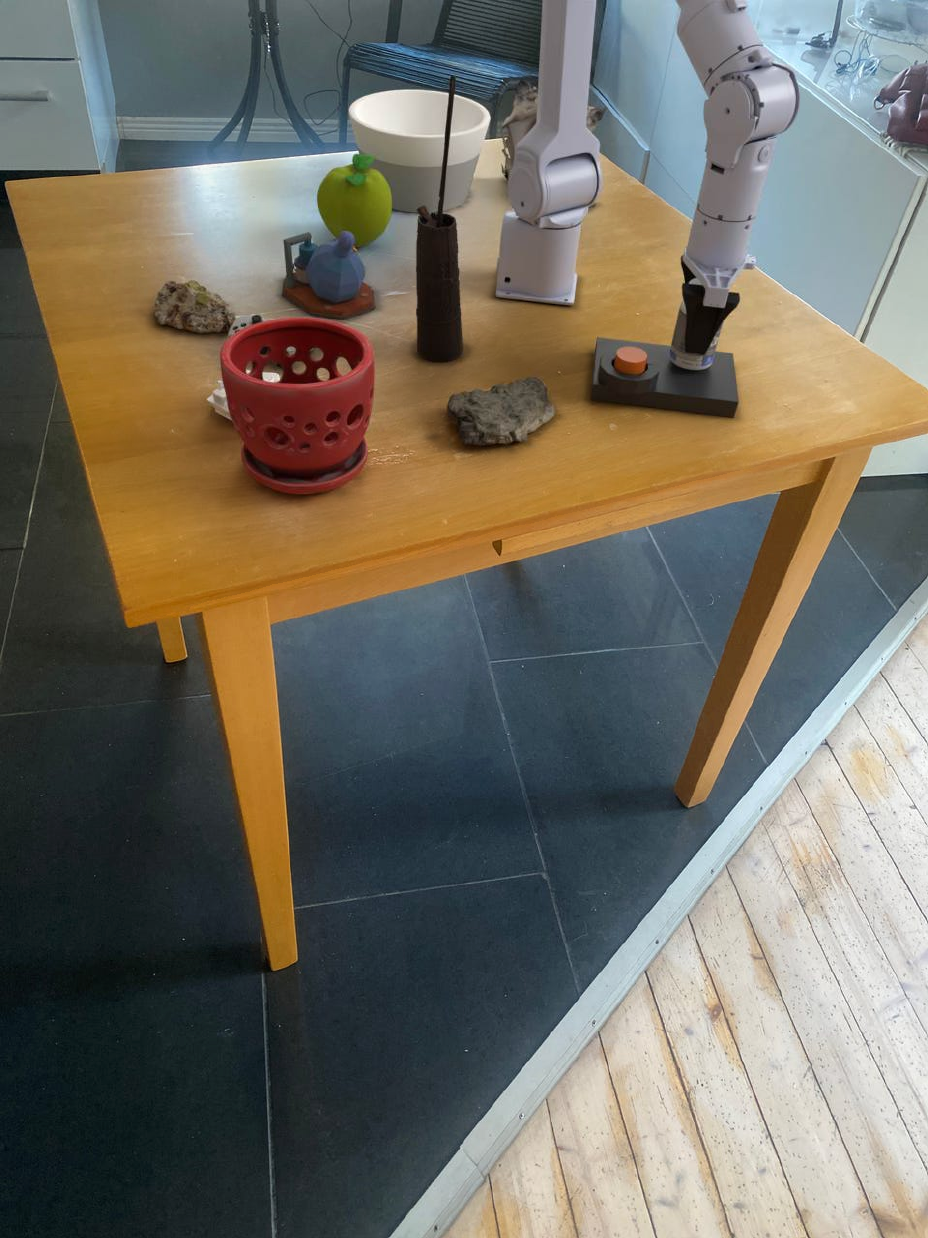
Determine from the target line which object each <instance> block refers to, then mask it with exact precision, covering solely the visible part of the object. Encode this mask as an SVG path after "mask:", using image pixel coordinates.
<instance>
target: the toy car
mask: <svg viewBox="0 0 928 1238" xmlns="http://www.w3.org/2000/svg"><path fill="white" fill-rule="evenodd" d="M250 372H251V369H250V370H249V369H246V373H247V374H249V373H250ZM220 379H221V380H220ZM220 379H219V380H216V383H218V388H215V389H214V390H213V391H212V392H211V394H210V396H209V397H207V398H206V401H207V402H208V403H209V404H211V406H212V407H213V408H214V412H215V413H217V414H219V415H221V416H223V417H224V418H226V419H227V420H230V421H232V419H231V416H230V413H229V410H228V404H227V398H226V393H225V389H224V385H223V380H222V375H220ZM280 379H281V377H280V375H279V374H278V373H276V372H264V371H263V380H264V381H268V382H273V383H276V382H278V381H279V380H280Z"/></svg>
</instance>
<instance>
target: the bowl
mask: <svg viewBox="0 0 928 1238" xmlns="http://www.w3.org/2000/svg"><path fill="white" fill-rule="evenodd" d="M448 99H449V92H444V91H438V90H437V91H436V90H430V89H429V90H428V89H394V90H385V91H379V92H374V93H371V94H367V95H364V96H362V97H359V98H357V99H355V100H354V101H353V102H352V103H351V104H350V106H349V107H348V118H349V121H350V125H351V129H352V133H353V137H354V141H355V145H356V147H357V151H358V154H364V155H373V156H375V158H374V160H373V161H372V163H371V164H370V165H369V166H368V167H367V168H370V169H375V170H377V171H378V172H380V173H381V174H382V176H383V177H384V178H385V180H386V181H387V183H388V185H389V188H390V191H391V196H392V210H396V211H400V212H405V213H416V214H419V213H418V212H417V208H419V207H421V206H426V207H427V210H428V212H429V213H430V214H431V213H437V211H438V202H439V199H440V197H439V190H440V181H441V173H442V163H443V155H444V142H445V127H446V118H447V117H446V116H447V108H448ZM490 122H491V114H490V111H489V110H488V109H487V108H486V107H485V106H484V105H482V104H480V103H479V102H477V101H475V100H473V99H470V98H468V97H464V96H460V95H457V94H454V102H453V112H452V121H451V132H450V141H449V150H448V160H447V169H446V181H445V194H444V204H443V212H446V211H449V210H453V209H456V208H457V207H460V206H461V205H463V204H464V203H465V202H466V201H467V199H468V195H469V192H470V188H471V186H472V182H473V179H474V176H475V173H476V168H477V165H478V163H479V160H480V155H481V152H482V150H483V146H484V143H485V140H486V136H487V133H488V129H489V126H490Z"/></svg>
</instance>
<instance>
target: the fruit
mask: <svg viewBox="0 0 928 1238" xmlns="http://www.w3.org/2000/svg"><path fill="white" fill-rule="evenodd" d="M374 158H375V156H373V155H364V154H359V153H354V154H352V159H351V163H350V164H347V165H344V166H336V167H333V168H331V170H329V171H328V172H327V174H326V175H325V177H324V178H323V179H322V180H321V182H320V184H319V186H318V189H317V193H316V205H317V209H318V213H319V215H320V218H321V220H322V221H323V222H322V223H324V225H325V227H326V229H327V230H328V231H329V233H330V235H332V236H333V237H334V238H335V240H336V241H338V237H339V235H340V234H341V233H342V232H344V231H348V232H350V233H352V234H353V236H354V240H355V244H354V245H353V246H354V247H355V248H361V247H365V246H367V245H368V244H371V243H373V242H374V241H376V240H377V239H378V238H380V237H381V236H382V234H384V232H385V231H386V229H387V228H388V225H389V223H390V221H391V216H392V210H393V209H392V196H391V191H390V188H389V185H388V183H387V181H386V180H385V178H384V177H383V176H382V174H381V173H380V172H378V171H377V170H375V169H370V168H367V167H368V166H369V165H370V164H371V163H372V161H373V160H374Z"/></svg>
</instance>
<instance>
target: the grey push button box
mask: <svg viewBox="0 0 928 1238" xmlns="http://www.w3.org/2000/svg"><path fill="white" fill-rule="evenodd" d="M594 347H595V348H594V354H593V365H592V377H591V389H590V401H594V402H595V401H596V402H604V403H613V404H619V405H620V404H621V405H628V406H636V407H637V406H638V407H645V408H653V409H661V410H669V411H676V412H677V411H678V412H686V413H692V414H693V413H694V414H701V415H711V416H719V417H727V418H735V416H736V412H737V409H738V406H739V402H740V401H739V394H738V386H737V385H738V384H737V378H736V377H737V376H736V368H735V358H734V353H733V352H725V351H717V350H716V351H715V355H714V359H713V362H712V364H711V365H710V366H709V367H708V368H706V369H703V370H689V369H685V368H681V367H679V366H677V365H675V364H674V363H673V362H672V361H671V360H670V358H669V352H670V348H671V345H668V344H667V345H665V344H659V343H658V344H657V343H649V342H642V341H633V340H625V339H615V338H607V337H598V336H597V337H596V341H595V346H594ZM622 347H636V348H639V349H641V350H643V351H644V352H646V354H647V361H646V366H645V370H644V372H643V373H642V374H636V375H632V374H624V373H622V372H620V371H617V370H616V369H615V368H614V362H615V357H616V352H617V350H618V349H620V348H622Z"/></svg>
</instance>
